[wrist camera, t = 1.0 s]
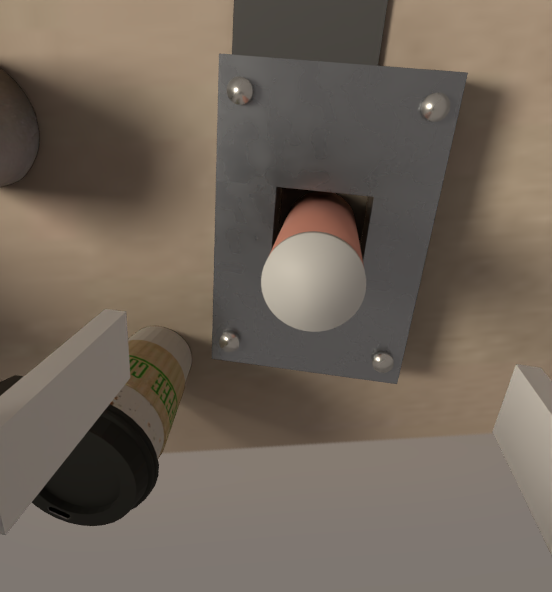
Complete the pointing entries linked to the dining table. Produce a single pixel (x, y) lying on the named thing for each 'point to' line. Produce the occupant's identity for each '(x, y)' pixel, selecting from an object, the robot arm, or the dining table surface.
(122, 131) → the dining table surface
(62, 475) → the coffee cup
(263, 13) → the mat
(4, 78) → the pillar candle
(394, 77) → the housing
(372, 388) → the dining table surface
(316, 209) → the pink round peg
